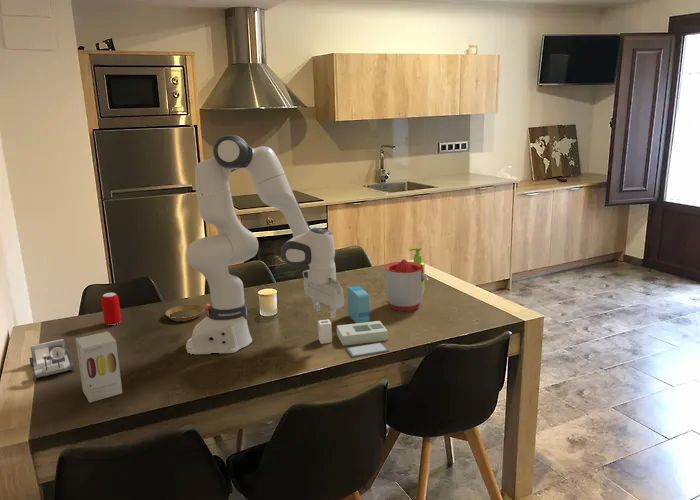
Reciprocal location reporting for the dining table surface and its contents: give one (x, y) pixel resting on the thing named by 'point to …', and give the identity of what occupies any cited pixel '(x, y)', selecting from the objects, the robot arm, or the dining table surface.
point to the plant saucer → (184, 307)
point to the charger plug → (325, 331)
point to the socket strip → (362, 333)
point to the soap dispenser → (418, 259)
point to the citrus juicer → (404, 285)
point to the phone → (367, 350)
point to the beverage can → (111, 308)
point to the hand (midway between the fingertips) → (324, 313)
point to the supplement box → (99, 366)
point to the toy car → (50, 358)
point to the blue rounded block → (358, 304)
